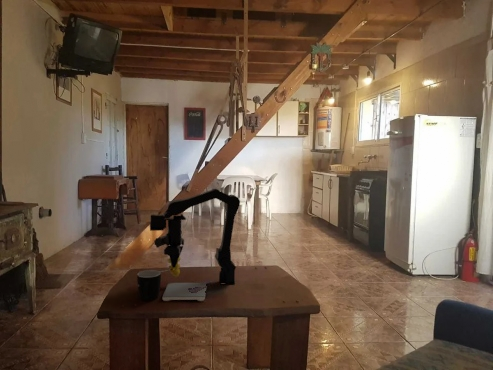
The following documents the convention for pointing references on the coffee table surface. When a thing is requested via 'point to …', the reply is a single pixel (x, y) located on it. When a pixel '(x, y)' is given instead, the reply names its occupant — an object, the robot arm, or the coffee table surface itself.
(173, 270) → the pressure relief valve
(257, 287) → the coffee table surface
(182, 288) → the stand
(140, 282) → the mug
